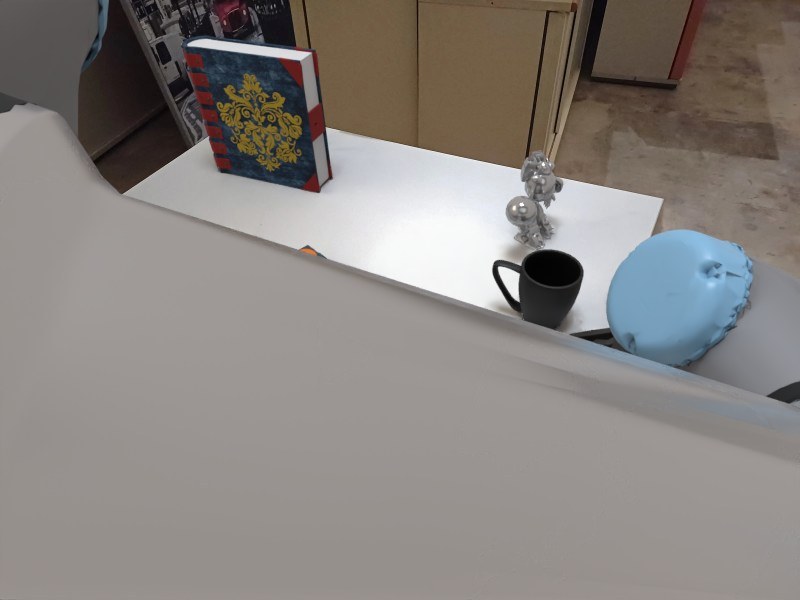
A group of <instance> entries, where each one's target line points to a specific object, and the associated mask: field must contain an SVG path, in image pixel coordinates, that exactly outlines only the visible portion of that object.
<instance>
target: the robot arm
mask: <svg viewBox="0 0 800 600" xmlns="http://www.w3.org/2000/svg"><path fill="white" fill-rule="evenodd" d="M109 2H110V0H0V600H800V278H798V277H796V276H794V275H793V274H791V273H788V272H786V271H785V270H783V269H781V268H778V267H777V266H774V265H773V264H771V263H769V262H767V261H765V260H762V259H761V258H759V257H757V256H756V255H753V254H751V253H749V252H748V251H746V250H745V249H744V248H743V247H742V246H741V245H739V244H738V243H736V242H730V240H722V239H719V238H716V237H713V236H710V235H708V234H705V233H703V232H700V231H696V230H692V229H679V228H678V229H672V230H666V231H663V232H659V233H656V234H654V235H652V236H649V237H648V238H646V239H644V240H643V241H642V242H640V243H639V244H638V245H636V247H635V248H634V250H632V251H630V252H629V253H628V255H627V257H626V258H624V259H623V260H622V261H621V262H620V264H619V265H618V267H617V269H616V271H615V272H614V274H613V276H612V278H611V280H610V283H609V285H608V286H609V287H608V290H607V294H606V295H607V296H606V307H605V313H606V320H607V324H608V327H605V328H604V327H603V328H597V329H591V330H584V331H583V330H582V331H577V332H572V333H565V332H563V331H562V332H561V331H558V330H556V329H554V330H552V329H549V328H546V327H543V326H540V325H536V324H533V323H530V322H527V321H524V320H523V319H520V318H518V317H514V316H512V315H508V314H504V313H501V312H498V311H495V310H492V309H488V308H485V307H482V306H479V305H475V304H472V303H470V302H467V301H464V300H460V299H456V298H453V297H450V296H447V295H445V294H441V293H437V292H434V291H431V290H428V289H426V288H423V287H419V286H415V285H413V284H408V283H407V282H404V281H403V282H402V281H398V280H396V279H393V278H391V277H387V276H384V275H381V274H377V273H373V272H372V271H371V272H370V271H368V270H364V269H361V268H358V267H356V266H355V267H354V266H352V265H349V264H345V263H343V262H338V261H337V260H333V259H329V258H327V257H326V258H327V259H326V258H323V257H320V256H317V255H314V254H311V253H307V252H304V251H301V250H299V248H298V249H297V248H295V247H291V246H288V245H285V244H282V243H279V242H276V241H272V240H269V239H266V238H263V237H260V236H256V235H252V234H251V233H250V234H249V233H247V232H244V231H241V230H237V229H235V228H231V227H227V226H224V225H221V224H218V223H215V222H213V221H212V222H211V221H208V220H205V219H202V218H199V217H195V216H192V215H189V214H186V213H183V212H180V211H176V210H174V209H170V208H167V207H164V206H161V205H157V204H154V203H151V202H148V201H144V200H143V199H139V198H136V197H132V196H129V195H126V194H123V193H121V192H119V191H118V190H117V189H116V188H115V187H114V186H113V185H112V184H111V183H110V182H109V181H108V180H107V179H105V178H104V177H103V175H102V174H101V172H100V171H99V169H98V167H97V166H96V165H95V163H94V162H93V160H92V158H91V156H90V155H89V154H88V152H87V151H86V149H85V148H84V147H83V145H82V143H81V142H80V140H79V86H80V79H81V74H82V73H83V72H84V71H85V70H86V69H88V67H89V66H90V65H91V64H92V63H93V61H94V60H95V58H96V57H97V55H98V54H99V52H100V51H101V48H102V46H103V45H102V44H103V43H102V42H103V41H102V40H103V37H104V36H105V33H106V30H107V27H108V26H107V25H108V13H109Z"/></svg>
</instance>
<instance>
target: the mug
mask: <svg viewBox="0 0 800 600" xmlns="http://www.w3.org/2000/svg"><path fill="white" fill-rule="evenodd" d="M499 268H505V269H509V270H511V271H513V272H514V273H517V274H519V276H518V285H517V287H518V288H517V290H518V299H519V301H518V300H516V299H515V298H514V297H513V296H512V294H511V292H510V291H509V290H508V288H507V287H506V285H505V283H504V281H503V279H502V277H501V274H500V271H499ZM491 273H492V277H493V279H494V282H495V283H496V285H497V287H498V289H499V290H500V292H501V294H502V296H503V297H504V299H505V301H506V302H507V304H508V305H509V306H510V308H511V309H512V310H513V311H515V312H517V313H518V314H522V315H521V316H522V320H524V321H527V322H530V323H533V324H536V325H540V326H543V327H546V328H549V329H552V330H556V329H558V328H559V327H560V326H561V324H562V322H563V321H564V320H565V319H566V318H567V316H568V315H569V314H570V312H571V311H572V308H573V306H574V305H575V303H576V301H577V298H578V296H579V294H580V292H581V291H580V290H581V287H582V283H583V280H584V276H585V275H584V273H585V270H584V267H583V265H582V263H581V262H580V261H579V260H578V259H577V258H576V257H575V256H573V255H571V254H570V253H568V252H565V251H562V250H558V249H552V248H550V249H545V248H542V249H538V250H534V251H532V252H529V253H528V254H526V256H524V257H523V260H522V261H521V264H518V263H516V262H512V261H509V260H505V259H496V260H494V262H493V264H492V268H491Z"/></svg>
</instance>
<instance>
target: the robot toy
mask: <svg viewBox="0 0 800 600" xmlns="http://www.w3.org/2000/svg"><path fill="white" fill-rule="evenodd" d="M555 168H556V164H555V163H554V162H553V161H552V160H551V159H550V158H549V159H548V157H547V154H546V153H544V151H543V150H542V149H541V150H535V151H532V152H531V154H530V156H529V157H526V158H525V159H524V161H523V163H522V165H521V170H520V181H521V182H522V183H524V192H525V193H526V195H518V196H517V195H516V196H515V197H513V198H512V199H510V200H509V201H508V203H507V204H506V206H505V216H506V219H507V221H508V222H509V223H510V224H511V225H513V226H515V227H517V229H518V230H519V231H518V232H517V233H516V234H515V235H514V236H513V240H516V241H518V242H520V243H522V244H524V245H525V246H526V247H528V248H530V249H533V250H534V251H537V250H540V249H541V248H542V249H544V247H545V246H546V244H545V243H544V238H546V239H551V238H552V236H553V235H555V232H554V231H553V230H554V229H555V227H552V225H551V222H550V221H548V220H547V214H546V213H545V211H544V208H546V210H547V209H548V208H550V206H551V203H552V201H553V202H556V195H555V194H557V193H561V191H562V190H563V188H564V185H565V184H564V183H565V182H564V180H563V178H561V177H559V176H556V175H555V173H554V172H553V171H554V170H555ZM542 202H543V206H544V208H543V207H542V205H541V204H540V203H542Z"/></svg>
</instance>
